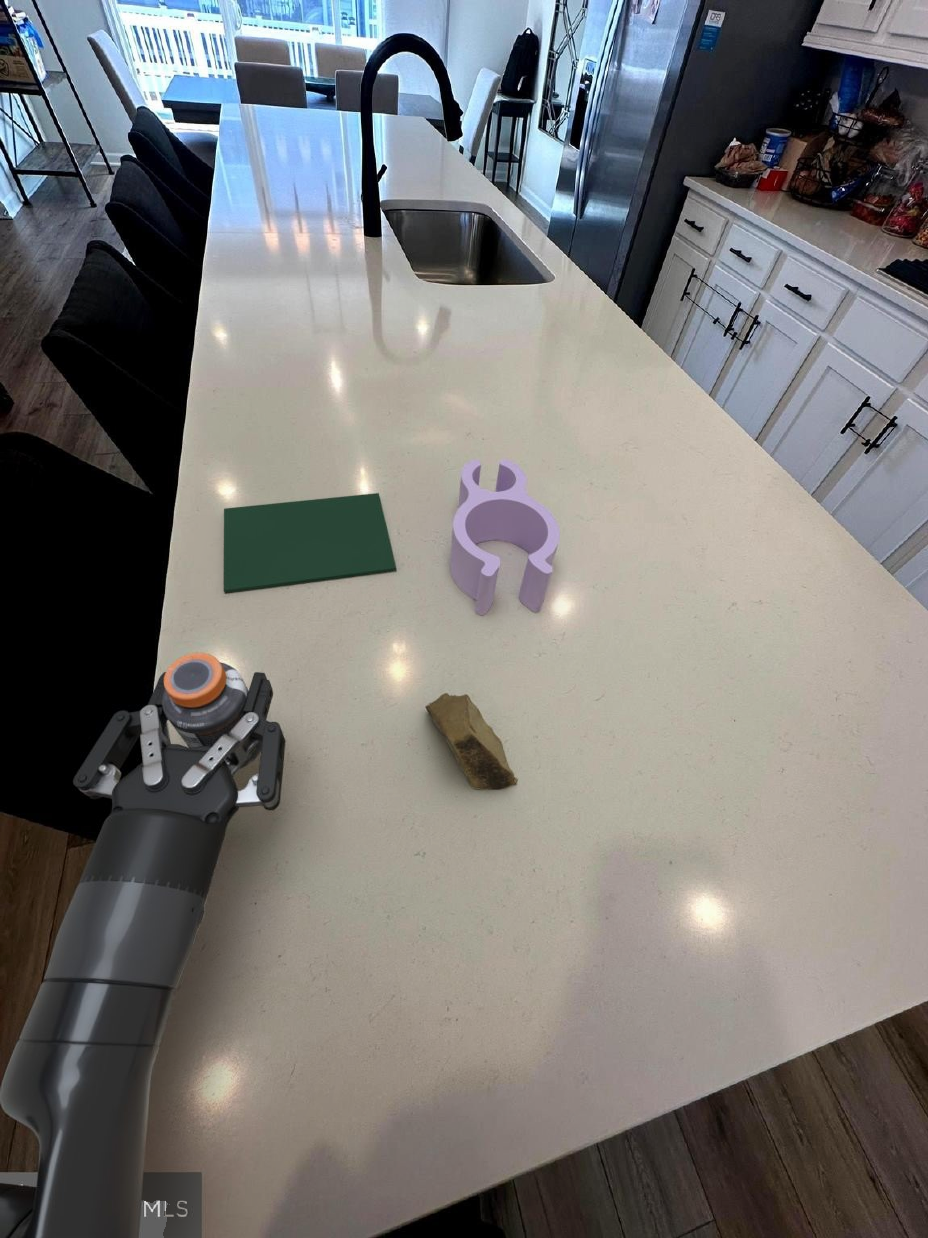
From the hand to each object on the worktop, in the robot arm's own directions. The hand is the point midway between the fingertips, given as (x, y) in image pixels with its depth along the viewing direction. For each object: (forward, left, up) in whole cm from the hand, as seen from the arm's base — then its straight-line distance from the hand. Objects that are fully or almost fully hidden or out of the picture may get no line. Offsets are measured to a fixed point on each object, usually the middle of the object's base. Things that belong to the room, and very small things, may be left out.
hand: (221, 674), depth 46 cm
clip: (+31, +20, -11) cm, 38 cm away
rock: (+20, -5, -11) cm, 24 cm away
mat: (+7, +26, -11) cm, 29 cm away
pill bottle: (-1, -3, -7) cm, 7 cm away
